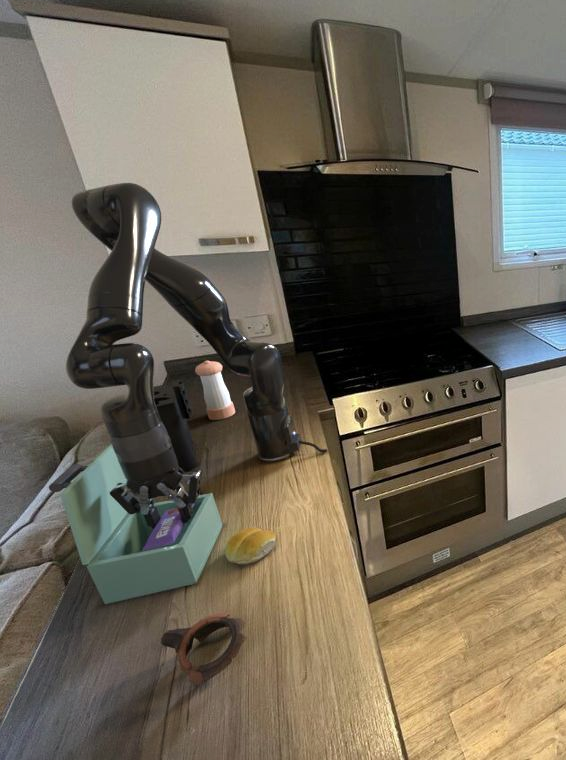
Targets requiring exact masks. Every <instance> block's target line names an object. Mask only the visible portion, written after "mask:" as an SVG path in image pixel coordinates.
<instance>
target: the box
mask: <svg viewBox="0 0 566 760" xmlns="http://www.w3.org/2000/svg"><path fill="white" fill-rule="evenodd" d="M191 504H195V505H194V506H193V508H192V509H193V511H194V513H193V516H192V517H191V519H190V520H189V522H186V523H185V524H184V526H183V528H182V529H181V531H180V533H179V535H178V537H177V538H176V540H175V541H174V543H173V544H168V545H165V546H161V547H157V548H153V549H150V550H145V551H142V552H141V550H142V549H143V548H144V546H145V545H146V542H147V540H148V538H149V536H150V534H151V533H152V531H153V530H154V529H152V527H149V526H148V525H147V522H146V520H145V518H144V516H143V515H142V514H141V513H135V514H129V513H127V515H126V516H125V517H124V518H123V520H122V521H121V522H120V524H119V525H118V526H117V528H116V529H115V530H114V532H113V533H112V534H111V535H110V537H109V538H108V539H107V541H106V542H105V543H104V545H103V546H102V547H101V549H100V550H99V551H98V552H97V554H96V555H95V556H94V558H93V559H92V560H91V562H90V563H89V564H87V566H86V569H87V570H88V573H89V574H90V577H91V578H92V581H93V583H94V584H95V587H96V589H97V591H98V593H99V595H100V597H101V599H102V601H103V603H104V605H108V604H113V603H117V602H122V601H125V600H129V599H130V600H131V599H134V598H138V597H143V596H147V595H152V594H157V593H161V592H164V591H169V590H173V589H174V590H175V589H178V588H183V587H187V586H190V585H197V583H198V582H199V579H200V576H201V575H202V572H203V570H204V568H205V566H206V563H207V562H208V559H209V557H210V555H211V552H212V550H213V548H214V546H215V544H216V542H217V540H218V537H219V535H220V533H221V531H222V529H223V527H224V525H223V523H222V519H221V515H220V513H219V509H218V507H217V503H216V501H215V498H214V494H213V493H212V492H210V493H203V494H199V496H198V497H197V499H196V501H195V503H191ZM153 507H156V508H157V510H158V513H159V515H160V518H161V517H162V515H163V514H164V513H165V512H166V511H167V510H170V509H174V508H178V506H177V505H176V504H175V502H174V501H170V500H165V501H159V502H154V506H153Z"/></svg>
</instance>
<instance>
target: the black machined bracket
mask: <svg viewBox="0 0 566 760" xmlns="http://www.w3.org/2000/svg"><path fill="white" fill-rule="evenodd" d="M153 390H154V401H155V405H156V407H157V410H158V413H159V416H160V418H161V421H162V423H163V425H164V427H165V428H166V430H167V433H168V436H169V437H170V439H171V444H172V447H173V450H174V452H175V455H176V458H177V461H178V466H179V467H180V468H181V469H182V470H183V471H184V472H189V471H190V470H193V468H194V467H195V466H196V465H197V459H196V458H197V457H196V456H197V455H196V450H195V443H194V440H193V436H192V434H191V430H190V427H189V425H188V421H187V419H188V420H190V419H192V418H193V417H194V415H193V410H192V407H191V405H190V401H189V397H188V396H187V394H188V393H187V391H186V389H185V385H184V382H183V379H176V380H174V381H172V386H164V385H163V384H159V385H155V386H153Z"/></svg>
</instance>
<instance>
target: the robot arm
mask: <svg viewBox="0 0 566 760" xmlns="http://www.w3.org/2000/svg"><path fill="white" fill-rule="evenodd" d="M71 208H72V211H73V213H74V216H75V217H76V218H77V219H78V221H79V222H80V223H81V225H82V226H83V227H84V228H85V229H86V230H87V231H88V232H89V233H90V234H91V235H92V236H93V237H94V238H95V239H97V240H98V241H99V242H100V243H101V244H102V245H104V246H105V247H106V248H107V249H109V250H110V253H109V254H108V256H107V257H106V258H105V260H104V262H103V263H102V264H101V266H100V268H99V269H98V271H97V272H96V274H95V275H94V277H93V279H92V280H91V283H90V287H89V289H88V295H87V305H86V306H87V307H86V308H87V309H86V316H85V317H86V318H85V321H84V324H83V325H82V327H81V329H80V331H79V333H78V335H77V337H76V338H75V341H74V343H73V345H72V346H71V348H70V350H69V353H68V355H67V357H66V362H65V371H66V374H67V377H68V379H69V380H70V381H71V383H72V384H73V385H75V386H77V387H78V388H81V389H85V390H94V389H95V390H96V389H104V388H111V387H112V388H113V387H120V386H127V389H128V391H127V392H124V393H121V394H119V395H116V396H112V397H111V398H109V399H107V400H105V401H104V402H103V403H102V404H101V405H100V408H99V411H100V415H101V417H102V420H103V422H104V425H105V427H106V430H107V432H108V434H109V437H110V442H111V444H112V447H113V449H114V452H115V454H116V457H117V459H118V462H119V464H120V466H121V469H122V471H123V474H124V476H125V478H126V479H127V482H126V483H118V484H117V485H116V486H115V487H114V488H113V489H112V490H111V492H110V495H111V496H112V497H113V498H114V499H115V500H116V501H117V502H118V503H119V504H120V505H121V506H122V507H123V508H124V509H125V510H126V511H127V514H128V513H129V514H135V513H141V514H142V515H143V516H144V518H145V520H146V522H147V525H148V526H149V527H152V529H154V528H155V527H156V525H157V523H158V522H159V520H160V519H161V518H160V515H159V513H158V510H157V508H156V507H153V506H154V503H155V499H156V498H158V497H166V498H167V499H168V501H174V502H175V504H176V505H177V506H178V507H179V508H178V511H179V513H180V516H181V519H182V521H183V523H186V522H189V520H190V519H191V517H192V516H193V513H194V511H193V509H192V506H191V503H195V501H196V499H197V497H198V496H199V495H201V488H202V487H201V486H202V476H203V475H202V473H203V471H202V470H200V469H195V471H193V472H189V471H187V472H184V471H183V470H182V469H181V468H180V467H179V466H178V461H177V458H176V455H175V452H174V450H173V447H172V444H171V439H170V437H169V436H168V433H167V430H166V428H165V427H164V425H163V423H162V421H161V418H160V416H159V413H158V410H157V407H156V405H155V401H154V390H153V387H154V377H155V376H154V375H155V359H154V356H153V354H152V352H150V350H149V349H147V347H145V346H144V345H142V344H140V343H136V342H126V343H125V342H124V343H117V342H118V341H121V340H124V339H127V338H130V337H133V336H136V335H137V334H139V333H140V332H141V331H142V328H143V316H144V296H145V295H144V294H145V284H146V283H148V285H149V286H151V287H152V288H153V289H154V290H155V291H156V292H157V293H158V295H160V297H162V299H163V300H165V302H166V304H168V305H169V306H170V307H171V308H172V309H173V310H174V312H176V313H177V314H178V316H180V317H181V318H182V319H184V320H185V322H187V323H188V324H189V325H190V326H191V327H192V328H193V329H194V331H196V332H197V334H199V335H200V336H201V337H202V338H203V339H204V340H205V341H206V342H207V343H208V344H209V345H210V346H211V348H212V349H213V350H214V351H215V353H216V354H217V356H219V358H220V359H221V360H222V362H223V363H224V365H225V366H226V367H227V368H228V369H229V370H230V371H231V372H233V373H234V374H236V375H240V376H244V377H250V380H251V385H252V386H250V387H248V388H247V389H245V390H244V391H243V393H242V397H243V401H244V406H245V409H246V413H247V416H248V420H249V421H248V422H249V425H250V428H251V432H252V435H253V439H254V443H255V447H256V451H257V454H258V455H257V456H258V459H259V460H260V461H261V462H264V463H274V462H281V461H283V460H286V459H288V458H290V457H295V455H296V453H297V451H298V452H299V451H300V449H301V448H300V447H301V445H306V446H311V447H312V448H314V449H315V450H316V451H317V452H320V453H328V449H327V448H324V449H322V448H321V447H319V446H318V445H317V444H315V443H312V442H310V441H304V440H302V436H301V433H296V430H295V425H294V420H293V416H291V415H290V414H289V410H288V409H289V408H288V404H287V400H286V396H285V385H286V381H285V374H284V367H283V362H282V358H281V354H280V351H279V350H278V348H277V347H276V346H275V345H274V344H272V343H269V342H261V341H255V340H254V341H253V340H250V339H248V338H247V337H246V336H245V335H243V334H242V333H241V331H239V330H238V329H237V327H236V326H235V325H234V324H233V322H232V320H231V318H230V312H229V307H228V303H227V300H226V299H225V297H224V296H223V294H222V293H221V291H220V290H219V289H218V288H217V287H216V286H215V285H214V284H213V283H212V282H211V280H210V279H209V278H208V277H207V276H206V275H205V274H204V273H202V272H201V271H199V270H197V269H196V268H194V267H193V266H190V265H187V264H186V263H184V262H182V261H179V260H177V259H175V258H172V257H171V256H169V255H167V254H165V253H163V252H161V251H160V250H158V249H156V248H155V247H156V243H157V240H158V236H159V234H160V229H161V225H162V211H161V208H160V205H159V204H158V201H157V199H156V198H155V197H154V195H152V193H151V192H150V191H149V190H147V189H146V188H145V187H143V186H142V185H140V184H137V183H133V182H119V183H114V184H109V185H104V186H99V187H95V188H91V189H86V190H82V191H78V192H77V193H75V194H74V195H73V196H72V198H71ZM182 480H184V482H185V484H186V485H187V486H188V493H187V491H186V489H185V486H184V485H183V484H182V483H181V482H182ZM132 491H133V492H132ZM134 493H136V494H138V495H139V497H137V496H136V495H135V494H134Z"/></svg>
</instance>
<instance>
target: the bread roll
mask: <svg viewBox="0 0 566 760" xmlns="http://www.w3.org/2000/svg"><path fill="white" fill-rule="evenodd" d="M276 540H277V536H276V534H275V533H274V532H273V531H272V530H266V529H262V528H260V527H256V526H251V527H246V528H243V529H241V530H239V531H237V532H236V533H235V534H233V535H232V536H231V537H230V538H229V540H228V541H226V544H225V549H224V555H225V558H226V559H227V561H228V562H230V563H232V564H238V565H249V564H253V563H256V562H258V561H260V560H261V559H263V558H264V557H265V556H267V555H268V554H269V553H270V552H271V551H273V549H274V548H275V547H276Z"/></svg>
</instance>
